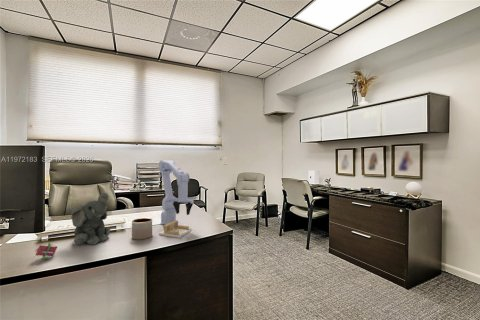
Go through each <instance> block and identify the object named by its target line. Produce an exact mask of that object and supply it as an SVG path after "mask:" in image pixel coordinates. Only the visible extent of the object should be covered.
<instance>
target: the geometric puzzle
mask: <svg viewBox="0 0 480 320" xmlns="http://www.w3.org/2000/svg"><path fill="white" fill-rule="evenodd" d="M57 249H58V246H57V245H55V246H54V245H53V243H52V242H48V243H47V245H42V244H41V245H39V246H37V247H36V249H35V256H38V257H39V258H40V259H41V257H43V258H42V259H43V260H45V259H46V258H47V257H50V256H51V257H54V256H55V254H56V250H57Z"/></svg>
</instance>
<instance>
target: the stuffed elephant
mask: <svg viewBox="0 0 480 320" xmlns="http://www.w3.org/2000/svg"><path fill="white" fill-rule="evenodd" d="M108 200H109V194H108V193H107V192H102V193H101V194H99V196H98V198H97V200H91V201H88V202H86V204H84V205H80V206H78V207H75V208H72V210H71V215H70V216H71V221H72V226H73V227H74V228H75V230H74V231H73V232H74V234H73V235H74V238H73V239H74V240H73V242H74V243H75V244H76V245H83V244H85V243H86V244H88V245H95V244H97V243H98V242H99V243H101V242H104V241H106V240H107V239H108V237H109V235H110V232H111V228H110V226H107V227H105V222H104V221H105V220H106V219H107V217H108V212H107V209H108V206H106V203H107V201H108Z"/></svg>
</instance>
